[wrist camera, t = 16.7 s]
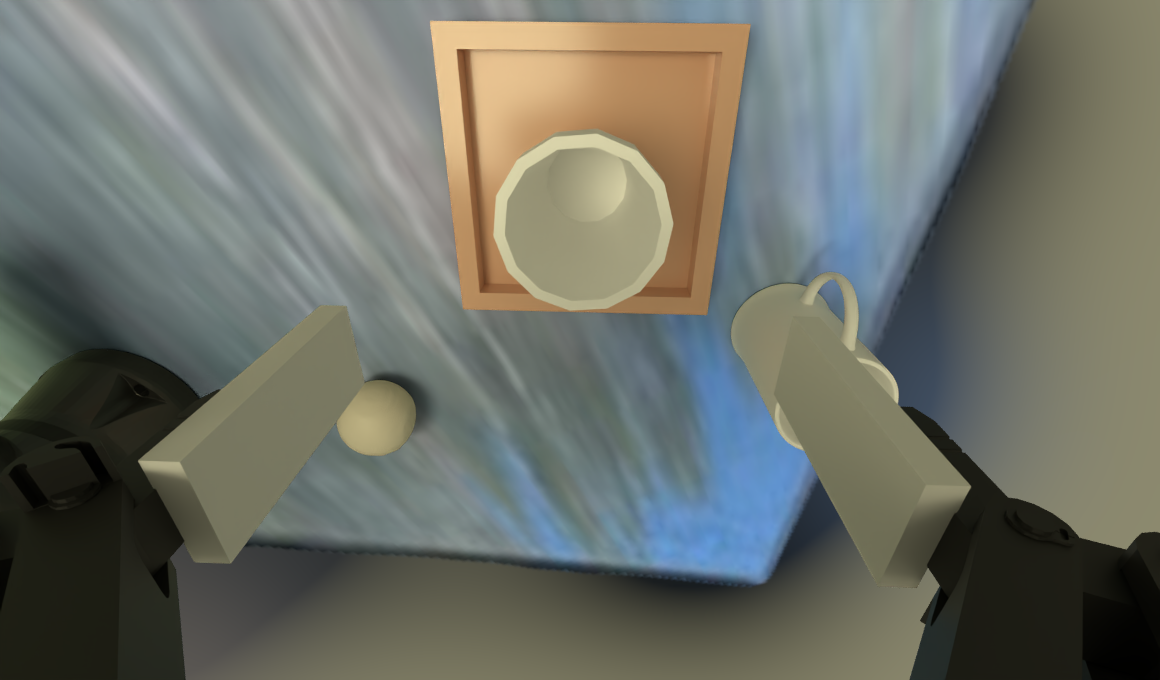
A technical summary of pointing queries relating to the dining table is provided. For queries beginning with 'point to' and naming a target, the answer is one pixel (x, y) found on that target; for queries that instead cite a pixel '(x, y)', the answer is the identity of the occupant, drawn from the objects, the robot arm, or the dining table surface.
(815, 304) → the mug
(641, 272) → the foam cup
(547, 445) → the dining table surface
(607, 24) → the tray
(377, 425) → the beige ball
